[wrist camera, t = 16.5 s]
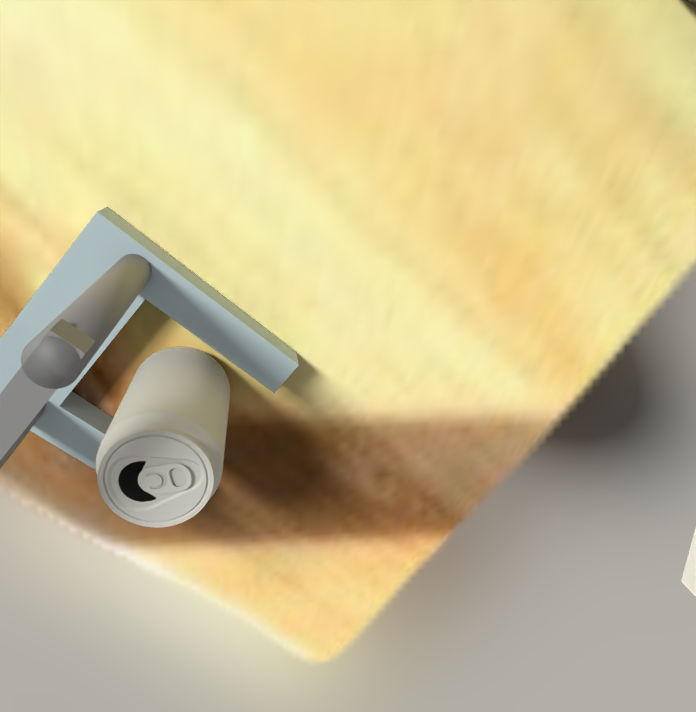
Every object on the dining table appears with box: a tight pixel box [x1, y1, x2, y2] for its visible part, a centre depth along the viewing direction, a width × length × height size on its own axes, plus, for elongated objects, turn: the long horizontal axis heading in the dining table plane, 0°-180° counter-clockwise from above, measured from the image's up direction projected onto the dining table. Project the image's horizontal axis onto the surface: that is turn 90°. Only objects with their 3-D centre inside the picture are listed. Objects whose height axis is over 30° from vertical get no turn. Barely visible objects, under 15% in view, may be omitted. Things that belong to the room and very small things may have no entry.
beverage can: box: [96, 347, 230, 527], centre depth 36 cm, size 6×6×12 cm
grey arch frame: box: [0, 207, 299, 470], centre depth 32 cm, size 15×14×18 cm
